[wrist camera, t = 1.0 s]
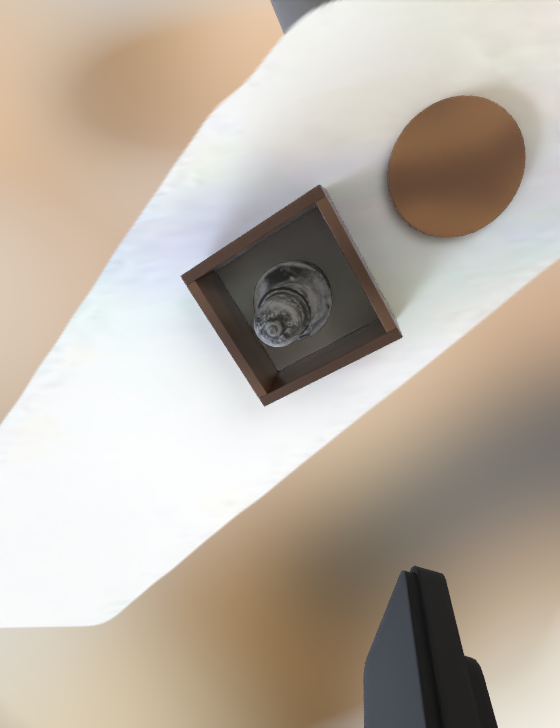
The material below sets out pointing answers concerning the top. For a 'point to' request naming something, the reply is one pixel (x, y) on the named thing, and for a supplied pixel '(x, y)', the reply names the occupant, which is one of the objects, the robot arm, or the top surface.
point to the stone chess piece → (291, 303)
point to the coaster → (456, 166)
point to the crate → (242, 337)
